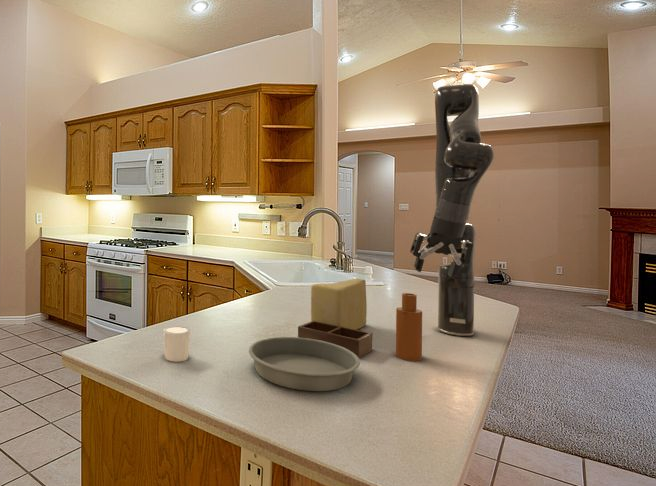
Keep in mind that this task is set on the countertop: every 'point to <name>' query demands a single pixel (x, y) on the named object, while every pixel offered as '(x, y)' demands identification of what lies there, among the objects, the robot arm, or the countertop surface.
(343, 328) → the holder
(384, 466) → the countertop surface
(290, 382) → the cake pan
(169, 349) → the cream cylinder
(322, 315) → the cheese
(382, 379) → the countertop surface
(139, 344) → the countertop surface
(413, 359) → the bottle
